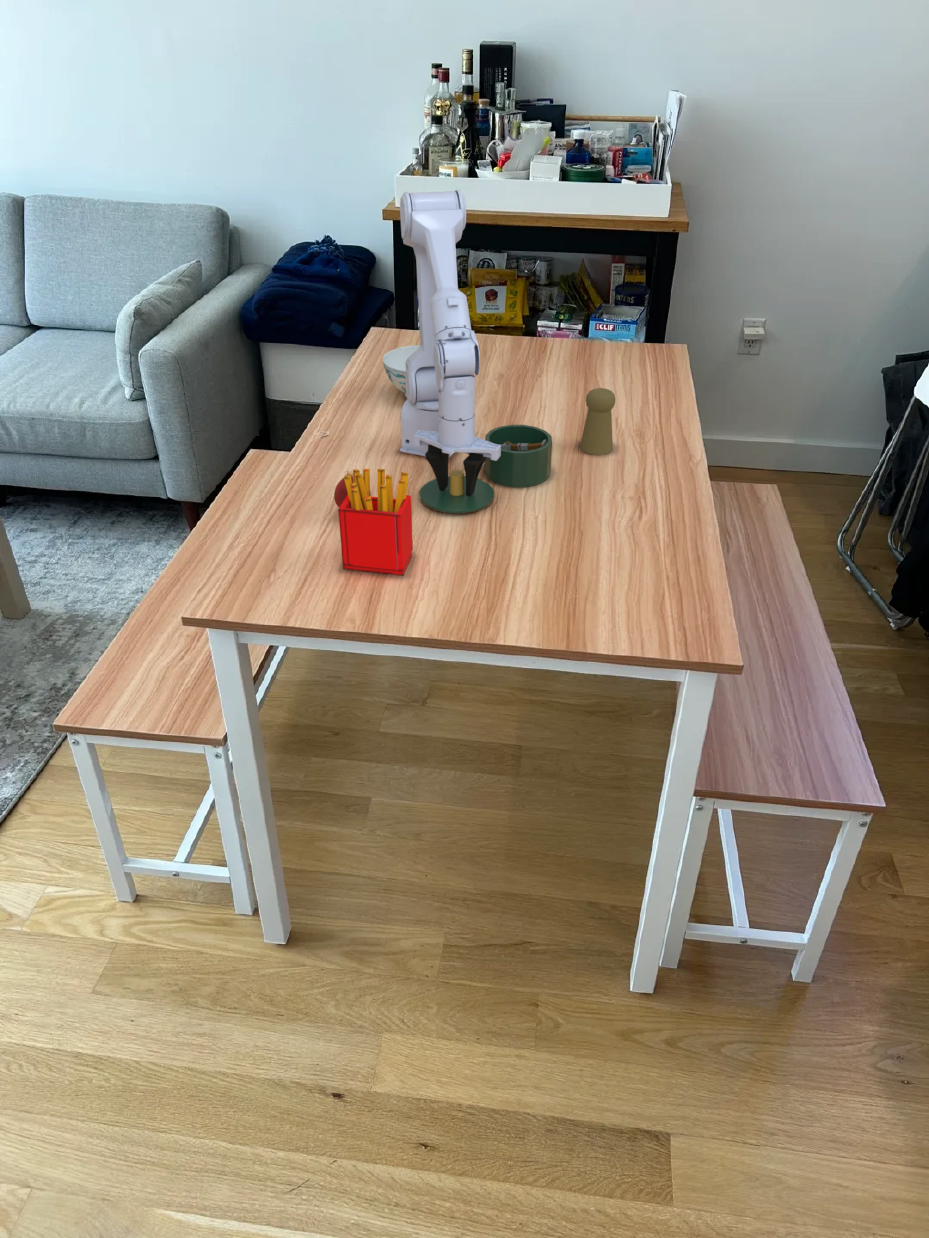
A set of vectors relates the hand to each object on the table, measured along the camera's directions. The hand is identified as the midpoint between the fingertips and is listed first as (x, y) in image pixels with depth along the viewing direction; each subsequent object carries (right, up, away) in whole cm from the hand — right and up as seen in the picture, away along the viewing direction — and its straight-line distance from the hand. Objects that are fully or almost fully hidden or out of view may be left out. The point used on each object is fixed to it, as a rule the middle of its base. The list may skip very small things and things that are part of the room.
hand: (456, 491), depth 160 cm
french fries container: (-12, -13, -16) cm, 23 cm away
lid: (0, -1, 0) cm, 1 cm away
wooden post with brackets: (+13, +6, +7) cm, 16 cm away
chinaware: (-8, +26, +36) cm, 45 cm away
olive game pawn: (+26, +10, +17) cm, 32 cm away
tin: (+11, +4, +9) cm, 14 cm away
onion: (-17, -5, -4) cm, 18 cm away
